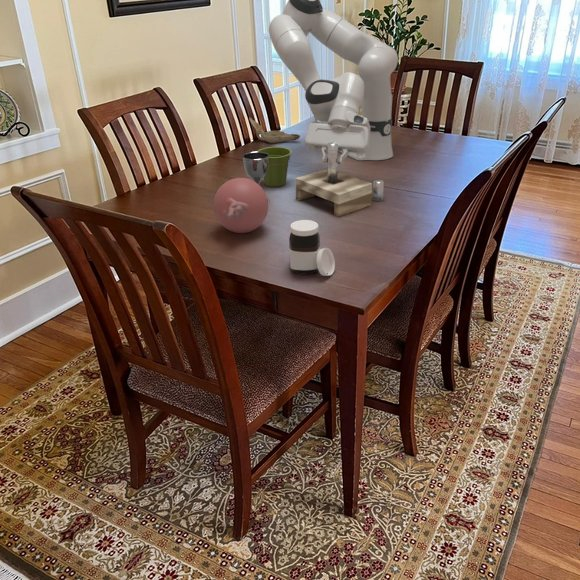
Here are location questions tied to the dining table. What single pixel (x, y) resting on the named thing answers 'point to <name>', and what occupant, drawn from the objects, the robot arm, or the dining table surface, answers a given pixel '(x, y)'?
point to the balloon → (240, 205)
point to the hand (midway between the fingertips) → (332, 162)
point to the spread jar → (309, 249)
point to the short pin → (378, 190)
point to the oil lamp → (273, 134)
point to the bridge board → (336, 191)
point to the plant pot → (276, 165)
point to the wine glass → (256, 165)
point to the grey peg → (332, 163)
